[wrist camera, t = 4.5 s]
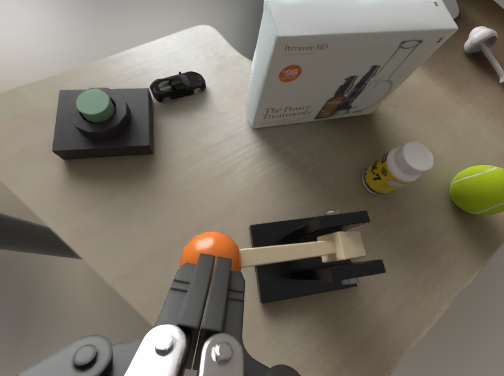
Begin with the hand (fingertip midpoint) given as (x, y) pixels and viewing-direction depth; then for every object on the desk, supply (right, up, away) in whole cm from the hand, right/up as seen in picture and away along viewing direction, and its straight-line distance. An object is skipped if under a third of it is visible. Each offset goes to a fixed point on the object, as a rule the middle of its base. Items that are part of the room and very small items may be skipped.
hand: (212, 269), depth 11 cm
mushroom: (+48, +29, +38) cm, 68 cm away
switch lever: (+3, -1, +8) cm, 8 cm away
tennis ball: (+34, +2, +26) cm, 43 cm away
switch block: (-18, +12, +22) cm, 31 cm away
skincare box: (+11, +16, +28) cm, 34 cm away
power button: (-17, +13, +19) cm, 29 cm away
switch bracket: (+8, -5, +20) cm, 22 cm away
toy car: (-9, +19, +26) cm, 33 cm away
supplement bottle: (+20, +5, +25) cm, 33 cm away
